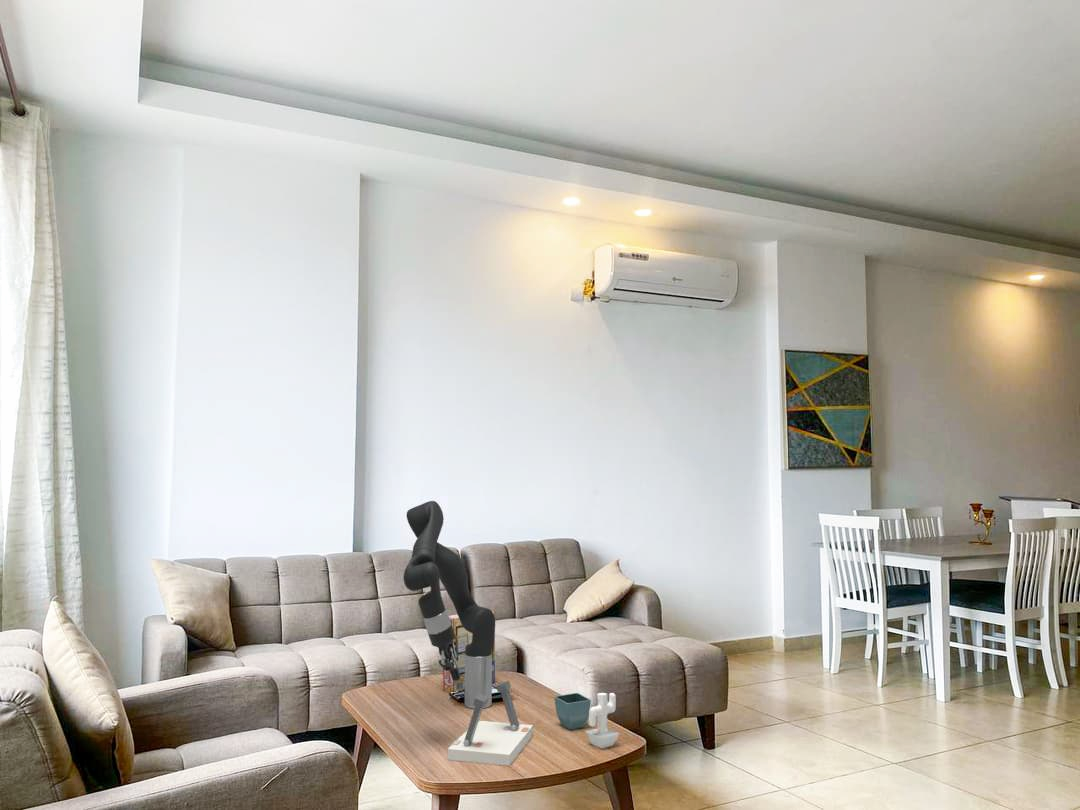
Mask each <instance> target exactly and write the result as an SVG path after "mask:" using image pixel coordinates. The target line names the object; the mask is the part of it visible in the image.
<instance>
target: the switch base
mask: <svg viewBox="0 0 1080 810" xmlns="http://www.w3.org/2000/svg"><path fill="white" fill-rule="evenodd" d="M467 731H468V729H467V730H465V732H464V733H463V734H461V736H460V737H459V738H457V739H456V740H454V741H453V742H452V743H451V745H450V746H449V747H448V748H447V760H448V761H453V762H454V761H455V762H464V763H465V762H467V763H476V764H484V765H485V764H486V765H494V766H507V767H509V766H511V764H512V763H513V762H514V761H515V760H516V758H517V757H518V755H519V754H520V753H521V751H522V750H523V749H524V748H525V746H526V745H527V744H528V743H529V741H530V740H531V739H532V738H533V737H534V725H533V724H522V723H519V727H518V728H517V729H516V730H515V731H512V730H511V725H510V722H499V721H498V722H497V721H489V720H488V721H487V720H486V721H485V720H479V722H478V725H477V728H476V731H475V734H474V737H473V741H472V742H471V743H470V745H468V746H464V744H463V742H464V740H465V737H466V734H467Z"/></svg>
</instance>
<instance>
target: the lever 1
mask: <svg viewBox="0 0 1080 810" xmlns="http://www.w3.org/2000/svg"><path fill="white" fill-rule="evenodd" d="M488 699H489V697H486V696H484V695H482V694H479V695H478V696H477V697H476V698H475V700H474V703H473V705H475V709H474V708H473V713H472V716H471V719H470V721H469V724H468V728H467V730H468V731H467V730H466V731H467V734H466V737H465V740H464V742H463V744H464V746H468V745H470V743H471V742H472V741H473V737H474V734H475V731H476V728H477V725H478V722H479V721H480V718H481V715H482V711H483V709H484V708H483V707H484V706H485V705H486V704H487V702H488Z"/></svg>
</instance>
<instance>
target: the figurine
mask: <svg viewBox="0 0 1080 810" xmlns="http://www.w3.org/2000/svg"><path fill="white" fill-rule="evenodd" d="M596 696H597V697H596V698H597V705H596V706H592V707H591V706H590V710H589V717H588V725H589V726H590V727H596V723H597V728H594V729H590V730H589V729H588V730H586V731H584V732H585V734H586V736H587V737H588V739H589V741H590V743H591V745H593V746H594V747H597V748H600V749H605V748H610V747H612V746H614V744H615V742H616V741H617V739H618V737H619V735H620V732H617V731H615V730H612V729H610V728H608V714H612V713H615V711H616V707H617V702H616V701H617V698H616V697H617V695H616V694H615V692H610V693H609V694H608V693H606V692H599V693H597V695H596ZM596 720H597V722H596Z"/></svg>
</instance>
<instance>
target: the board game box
mask: <svg viewBox="0 0 1080 810" xmlns="http://www.w3.org/2000/svg"><path fill="white" fill-rule="evenodd" d="M490 610H491V611H492V612H493V614H494V616H495V617H496V615H495V613H496V611H495V610H492V609H490ZM449 618H450V621H451V624H452V627H453V630H454V633H455V639H454V640H453V642H457V650H458V661H457V663H458V666H457V667H458V670H459V673H460V676H461V677H460V679H459V680H455V681H454V680H453V679H452V676H451V673H450V670H449V671H446V670H445V669H444V668H443V667H442V670H443V671H442V672H443V673H442V674H443V675H442V676H443V677H442V678H443V679H442V682H443V683H442V685H443V688H442V691H443V692H445V693H448V694H451V692H456V691H461V690H465V647H466V645H468V644H471V642H472V635H473V633H471V632H468V631H467V630H465V629H464V627H463V626H462V624H461V622H460V619H459V617H458V614H457V613H456V614H451V615H449ZM495 649H496V639H495V640H494V646H493V648H492V685H493V684H496V650H495Z"/></svg>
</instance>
